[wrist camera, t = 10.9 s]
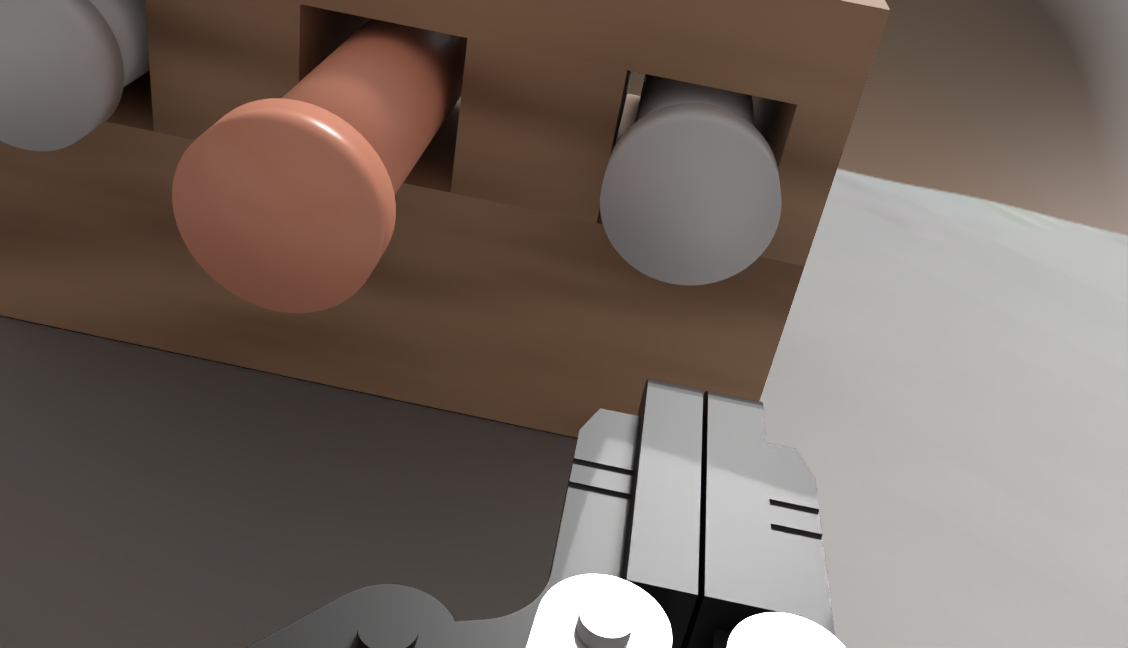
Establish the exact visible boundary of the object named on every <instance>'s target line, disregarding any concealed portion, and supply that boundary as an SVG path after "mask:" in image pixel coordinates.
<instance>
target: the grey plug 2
mask: <svg viewBox="0 0 1128 648" xmlns="http://www.w3.org/2000/svg"><path fill="white" fill-rule="evenodd" d="M781 205H782V202H781V189H780V181H779V173H778V168H777V163H776V160H775V157H774V154H773V152H772V150H771V148H770V146H769V144H768V143H767V141H766V140H765V138H764V137H763V136H762V134H761V133H760V132H759V131H758V130H757V129H756V128H755V124H754V111H753V99H752V95H747V94H742V93H737V92H732V91H727V90H722V89H717V88H712V87H707V86H702V85H698V84H693V83H688V82H683V81H678V80H673V79H668V78H663V77H658V76H653V75H648V74H645V78H644V82H643V88H642V92H641V97H640V102H639V107H638V112H637V116H636V121H635V123H634V124H633V125H632V126H631V127H630V128H629V129H628V130H626V131H625V133H624V134H623V135H622V136H621V138H620V139H619V140H618V142H617V144H616V145H615V147H614V148H613V150H612V153H611V155H610V157H609V160H608V164H607V168H606V171H605V175H604V179H603V183H602V188H601V194H600V213H601V219H602V223H603V226H604V229H605V232H606V234H607V236H608V238H609V240H610V242H611V244H612V245H613V247H614V248H615V250H616V251H617V252H618V253H619V254H620V256H621V257H622V258H623V259H624V260H625V261H627V262H628V263H629V264H630V265H631V266H633V267H634V268H635V269H637V270H638V271H640V272H642V273H643V274H645V275H647V276H649V277H651V278H654V279H657V280H659V281H663V282H666V283H670V284H677V285H692V286H693V285H705V284H710V283H715V282H718V281H721V280H724V279H727V278H729V277H731V276H734V275H736V274H737V273H739V272H741V271H742V270H744V269H746V268H747V267H748V266H749V265H751V264H752V263H753V262H755V261H756V259H757V258H758V257H759V256H760V255H761V254H762V253H763V252H764V251H765V249H766V248H767V247H768V245H769V244H770V242H771V240H772V238H773V237H774V235H775V232H776V229H777V227H778V224H779V219H780V215H781Z"/></svg>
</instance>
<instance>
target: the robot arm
mask: <svg viewBox="0 0 1128 648" xmlns="http://www.w3.org/2000/svg"><path fill="white" fill-rule="evenodd" d="M818 512H819V504H818V496H817V488H816V480H815V477H814V476H813V474H812V473H811V471H810V470H809V468H808V467H807V465H806V464H805V462H804V461H803V459H802V457H801V456H800V454H799V453H798V451H797V450H796V449H794V448H790V447H785V446H780V445H775V444H770V443H766V439H765V423H764V408H763V403H762V402H759V401H754V400H749V399H745V398H740V397H735V396H730V395H725V394H720V393H716V392H711V391H705V393H704V395H703V391H702V390H700V389H695V388H690V387H686V386H681V385H676V384H671V383H666V382H661V381H657V380H652V379H647V380H646V383H645V386H644V390H643V394H642V398H641V402H640V406H639V410H638V414H637V416H635V415H630V414H625V413H621V412H616V411H611V410H606V409H601V408H600V409H599V410H598V411H597V412H596V413H595V414H594V415H593V416H592V417H591V419H590V420H589V421H588V422H587V423H586V424H585V425H584V426H583V427H582V428H581V429H580V430H579V435H578V440H577V444H576V449H575V454H574V459H573V463H572V468H571V473H570V477H569V482H568V487H567V492H566V496H565V501H564V506H563V511H562V515H561V520H560V525H559V531H558V536H557V541H556V546H555V551H554V556H553V561H552V566H551V571H550V576H549V581H548V584H547V585H546V587H545V589H544V590H543V592H542V593H541V594H540V595H539V596H538V598H536V599H535V600H534V601H533V602H532V603H531V604H529V605H528V606H526V607H524V608H523V609H521V610H519V611H516V612H514V613H512V614H509V615H506V616H502V617H498V618H491V619H483V620H468V621H455V620H454V618H453V616H452V615H451V613H450V612H449V611H448V609H447V608H446V607H445V606H444V605H443V604H442V603H441V602H439V601H438V600H437V599H436V598H434V597H433V596H431V595H429V594H428V593H426V592H423V591H421V590H419V589H416V588H413V587H409V586H405V585H398V584H377V585H370V586H366V587H362V588H359V589H356V590H354V591H351V592H349V593H347V594H345V595H343V596H341V597H339V598H337V599H336V600H334V601H332V602H330V603H328V604H326V605H324V606H323V607H321V608H319V609H317V610H315V611H313V612H311V613H310V614H308V615H306V616H304V617H302V618H300V619H298V620H297V621H295V622H293V623H291V624H289V625H287V626H285V627H284V628H282V629H280V630H278V631H276V632H274V633H272V634H271V635H269V636H267V637H265V638H263V639H261V640H259V641H258V642H256V643H254V644H252V645H250V646H248V647H246V648H846V647H845V646H844V645H843V644H842V643H841V642H840V641H839V640H838V639H837V638H836V637H835V632H834V624H833V616H832V608H831V600H830V592H829V584H828V576H827V568H826V560H825V552H824V544H823V541H822V540H821V538H822V528H821V520H820V515H818Z"/></svg>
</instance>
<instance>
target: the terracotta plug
mask: <svg viewBox="0 0 1128 648" xmlns="http://www.w3.org/2000/svg"><path fill="white" fill-rule="evenodd" d="M466 47H467V38H465V37H460V36H455V35H450V34H445V33H440V32H435V31H430V30H426V29H421V28H416V27H411V26H406V25H401V24H396V23H391V22H386V21H381V20H376V19H370V20H368V21H367V22H366V23H365V24H364V25H363V26H362V27H361V28H359V29H358V30H357V31H356V32H355V33H354V34H353V35H352V36H350V37H349V38H348V39H347V40H346V41H345V42H344V43H343V44H342V45H340V46H339V47H338V48H337V49H336V50H335V51H334V52H333V53H331V54H330V55H329V56H328V57H327V58H326V59H325V60H324V61H322V62H321V63H320V64H319V65H318V66H317V67H316V68H315V69H313V70H312V71H311V72H310V73H309V74H308V75H307V76H306V77H305V78H303V79H302V80H301V81H300V82H299V83H298V84H297V85H296V86H294V87H293V88H292V89H291V90H290V91H289V92H288V93H287V94H285V95H284V96H283V97H282V98H270V99H262V100H257V101H253V102H249V103H246V104H244V105H242V106H239V107H237V108H235V109H233V110H232V111H230V112H229V113H227V114H226V115H225V116H223V117H222V118H221V119H220V120H218V121H217V122H216V123H215V124H214V125H212V126H211V127H210V128H209V129H208V130H206V131H205V132H204V133H203V134H202V135H200V136H199V137H198V138H197V139H196V140H195V141H194V142H193V143H192V144H191V145H190V146H189V147H188V149H187V150H186V151H185V152H184V154H183V156H182V158H181V159H180V161H179V163H178V166H177V169H176V172H175V175H174V180H173V186H172V203H173V211H174V216H175V220H176V223H177V226H178V229H179V231H180V234H181V237H182V239H183V240H184V242H185V244H186V246H187V248H188V250H189V251H190V253H191V254H192V255H193V257H194V258H195V260H196V261H197V262H198V263H199V265H200V266H201V267H202V268H203V269H204V270H205V271H206V272H207V273H208V274H209V275H210V276H211V277H212V278H213V279H214V280H215V281H216V282H218V283H219V284H220V285H221V286H223V287H224V288H225V289H227V290H228V291H230V292H231V293H233V294H234V295H236V296H238V297H240V298H242V299H244V300H246V301H248V302H250V303H252V304H255V305H257V306H260V307H263V308H267V309H270V310H274V311H280V312H286V313H310V312H316V311H321V310H325V309H328V308H331V307H334V306H336V305H338V304H340V303H342V302H344V301H346V300H347V299H348V298H350V297H351V296H352V295H354V294H355V293H356V292H357V291H358V290H359V289H360V288H361V287H362V286H363V285H364V283H365V282H366V280H367V279H368V278H369V276H370V275H371V273H372V271H373V270H374V268H375V266H376V265H377V263H378V262H379V260H380V258H381V257H382V255H383V253H384V252H385V250H386V248H387V246H388V244H389V242H390V240H391V237H392V234H393V231H394V226H395V219H396V203H395V194H396V193H397V191H398V190H399V188H400V187H401V185H402V184H403V182H404V181H405V179H406V178H407V176H408V175H409V173H410V172H411V170H412V169H413V167H414V166H415V164H416V163H417V161H418V160H419V158H420V157H421V155H422V154H423V152H424V151H425V149H426V148H427V146H428V145H429V143H430V142H431V140H432V139H433V137H434V136H435V134H436V133H437V131H438V130H439V128H440V127H441V125H442V124H443V122H444V121H445V119H446V118H447V116H448V115H449V113H450V112H451V110H452V109H453V107H454V106H455V104H456V103H457V101H458V100H459V98H460V97H461V93H462V84H463V74H464V65H465V56H466Z"/></svg>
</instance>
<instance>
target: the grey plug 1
mask: <svg viewBox="0 0 1128 648" xmlns="http://www.w3.org/2000/svg"><path fill="white" fill-rule="evenodd" d="M148 71H150V65H149V50H148V35H147V20H146V4H145V0H0V141H2V142H4V143H6V144H9V145H11V146H14V147H17V148H21V149H25V150H31V151H54V150H58V149H62V148H65V147H68V146H70V145H72V144H74V143H75V142H77V141H78V140H80V139H81V138H83V137H84V136H86V135H87V134H88V133H90V132H91V131H93V130H94V129H96V128H97V127H99V126H100V125H102V124H103V123H105V122H106V121H107V120H108V119H109V118H110V117H111V116H112V114H113V113H114V111H115V110H116V109H117V107H118V104H119V102H120V100H121V97H122V93H123V88H124V87H125V86H126V85H128V84H129V83H131V82H132V81H134V80H136V79H137V78H139V77H140V76H142V75H143V74H145V73H146V72H148Z"/></svg>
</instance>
